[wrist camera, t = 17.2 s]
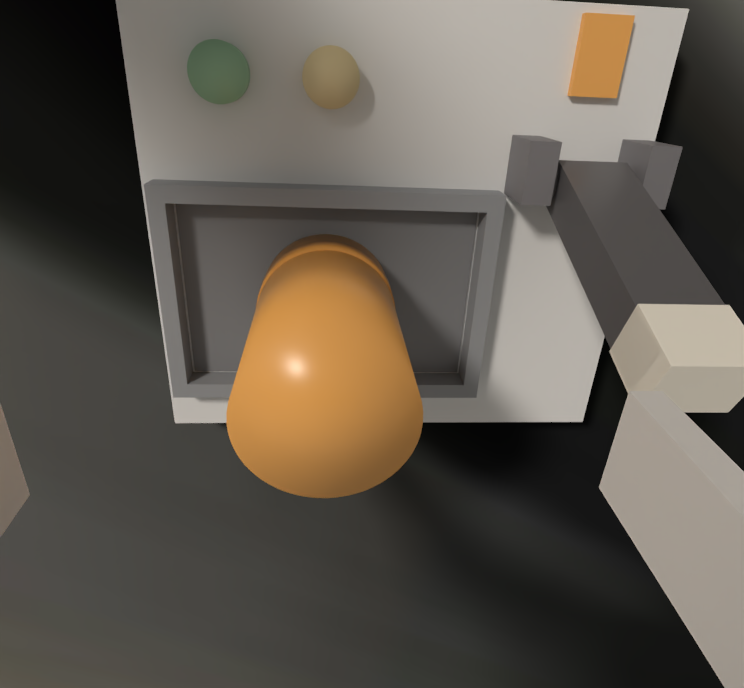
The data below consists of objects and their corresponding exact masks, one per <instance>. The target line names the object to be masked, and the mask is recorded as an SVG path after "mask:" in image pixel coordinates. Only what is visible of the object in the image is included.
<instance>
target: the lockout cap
mask: <svg viewBox="0 0 744 688" xmlns="http://www.w3.org/2000/svg"><path fill="white" fill-rule="evenodd" d="M226 418H227V429H228V435H229V438H230V441H231V444H232V446H233V448H234V450H235V452H236V454H237V455H238V457H239V458H240V459H241V461H242V462H243V463H244V464H245V466H246V467H247V468H248V469H249V470H250V471H251V472H252V473H254V474H255V475H256V476H257V477H259V478H260V479H261V480H263V481H265V482H266V483H268V484H269V485H271V486H273V487H276V488H278V489H280V490H283V491H285V492H288V493H291V494H295V495H299V496H305V497H312V498H334V497H342V496H348V495H352V494H356V493H359V492H362V491H365V490H367V489H370V488H372V487H374V486H376V485H378V484H380V483H382V482H383V481H385V480H386V479H388V478H389V477H391V476H392V475H393V474H394V473H395V472H396V471H398V470H399V469H400V468H401V467H402V466H403V464H404V463H405V462H406V461H407V460H408V458H409V457H410V456H411V454H412V453H413V451H414V449H415V447H416V445H417V443H418V440H419V437H420V435H421V431H422V425H423V406H422V400H421V397H420V393H419V390H418V386H417V383H416V379H415V376H414V372H413V369H412V365H411V362H410V359H409V355H408V352H407V348H406V345H405V341H404V338H403V334H402V331H401V327H400V324H399V320H398V317H397V313H396V310H395V302H394V298H393V295H392V291H391V288H390V284H389V281H388V279H387V277H386V275H385V273H384V270H383V268H382V266H381V265H380V263H379V261H378V260H377V259H376V257H375V256H374V255H373V254H372V253H371V252H370V251H369V250H368V249H367V248H365V247H364V246H362V245H361V244H360V243H358V242H356V241H354V240H352V239H349V238H346V237H343V236H339V235H332V234H318V235H312V236H308V237H304V238H301V239H299V240H297V241H295V242H293V243H291V244H290V245H288V246H287V247H286V248H284V249H283V250H282V251H281V252H280V253H279V254H278V255H277V256H276V257H275V259H274V260H273V262H272V263H271V265H270V267H269V269H268V271H267V273H266V275H265V277H264V279H263V282H262V285H261V288H260V292H259V295H258V298H257V304H256V310H255V313H254V317H253V320H252V323H251V327H250V330H249V334H248V337H247V340H246V344H245V347H244V350H243V354H242V357H241V360H240V364H239V367H238V370H237V374H236V377H235V380H234V384H233V387H232V391H231V394H230V397H229V401H228V406H227V412H226Z"/></svg>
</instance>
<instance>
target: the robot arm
mask: <svg viewBox="0 0 744 688" xmlns="http://www.w3.org/2000/svg"><path fill="white" fill-rule="evenodd" d="M599 488H600V490H601V492H602V493H603V495H604V496H605V498H606V500H607V501H608V503H609V504H610V506H611V508H612V509H613V511H614V512H615V514H616V516H617V517H618V519H619V520H620V522H621V523H622V525H623V527H624V528H625V530H626V531H627V533H628V535H629V536H630V538H631V539H632V541H633V543H634V544H635V546H636V547H637V549H638V551H639V552H640V554H641V555H642V557H643V559H644V560H645V562H646V563H647V565H648V566H649V568H650V570H651V571H652V573H653V574H654V576H655V578H656V579H657V581H658V582H659V584H660V586H661V587H662V589H663V590H664V592H665V594H666V595H667V597H668V598H669V600H670V601H671V603H672V605H673V606H674V608H675V609H676V611H677V613H678V614H679V616H680V617H681V619H682V621H683V622H684V624H685V625H686V627H687V629H688V630H689V632H690V633H691V635H692V636H693V638H694V640H695V641H696V643H697V644H698V646H699V648H700V649H701V651H702V652H703V654H704V656H705V657H706V659H707V660H708V662H709V664H710V665H711V667H712V668H713V670H714V672H715V673H716V675H717V676H718V678H719V679H720V681H721V683H722V684H723V686H724V687H725V688H744V472H743V471H742V470H741V469H740V468H739V467H738V466H737V465H736V464H735V463H734V462H733V461H732V460H731V459H730V458H729V457H728V456H727V455H726V454H725V453H724V452H723V451H722V450H721V449H720V448H719V447H718V446H717V445H716V444H715V443H714V442H713V441H712V440H711V439H710V438H709V437H708V436H707V435H706V434H705V433H704V432H703V431H702V430H701V429H700V428H699V427H698V426H697V425H696V424H695V423H694V422H693V421H692V420H691V419H690V418H689V417H688V416H687V415H686V414H685V413H684V412H683V411H682V410H681V409H680V408H679V407H678V406H677V405H676V404H675V403H674V402H673V401H672V400H671V399H670V398H669V397H668V396H667V395H666V394H665V393H664V392H663V391H629V393H628V396H627V399H626V403H625V406H624V409H623V412H622V415H621V419H620V422H619V425H618V428H617V431H616V435H615V438H614V441H613V444H612V447H611V451H610V454H609V457H608V460H607V463H606V467H605V470H604V473H603V476H602V479H601V483H600V486H599ZM29 495H30V493H29V490H28V487H27V484H26V481H25V478H24V475H23V472H22V469H21V466H20V463H19V460H18V456H17V453H16V450H15V447H14V444H13V441H12V438H11V435H10V432H9V429H8V426H7V423H6V419H5V416H4V413H3V410H2V407H1V404H0V537H1V536H2V534H3V533H4V531H5V530H6V528H7V527H8V526H9V524H10V523H11V521H12V520H13V518H14V517H15V516H16V514H17V513H18V511H19V510H20V508H21V507H22V505H23V504H24V503H25V501H26V500H27V498H28V497H29Z"/></svg>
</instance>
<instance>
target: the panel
mask: <svg viewBox="0 0 744 688" xmlns="http://www.w3.org/2000/svg"><path fill="white" fill-rule="evenodd" d="M116 6H117V13H118V21H119V28H120V35H121V42H122V49H123V56H124V63H125V70H126V78H127V85H128V92H129V99H130V106H131V113H132V120H133V127H134V134H135V142H136V149H137V156H138V163H139V170H140V177H141V184H142V191H143V199H144V206H145V213H146V220H147V227H148V234H149V241H150V248H151V255H152V263H153V270H154V277H155V284H156V291H157V298H158V305H159V312H160V320H161V327H162V334H163V341H164V348H165V355H166V362H167V369H168V376H169V384H170V391H171V398H172V405H173V412H174V419H175V423H227V418H226V412H227V406H228V401H229V397H230V394H231V391H232V387H233V384H234V380H235V377H236V374H237V370H238V367H239V364H240V360H241V357H242V354H243V350H244V347H245V344H246V340H247V337H248V334H249V330H250V327H251V323H252V320H253V317H254V313H255V310H256V304H257V298H258V295H259V292H260V288H261V285H262V282H263V279H264V277H265V275H266V273H267V271H268V269H269V267H270V265H271V263H272V262H273V260H274V259H275V257H276V256H277V255H278V254H279V253H280V252H281V251H282V250H283V249H284V248H286V247H287V246H288V245H290V244H291V243H293V242H295V241H297V240H299V239H301V238H304V237H308V236H312V235H318V234H332V235H339V236H343V237H346V238H349V239H352V240H354V241H356V242H358V243H360V244H361V245H362V246H364V247H365V248H367V249H368V250H369V251H370V252H371V253H372V254H373V255H374V256H375V257H376V259H377V260H378V261H379V263H380V265H381V266H382V268H383V270H384V273H385V275H386V277H387V279H388V281H389V284H390V288H391V291H392V295H393V298H394V302H395V310H396V313H397V317H398V320H399V324H400V327H401V331H402V334H403V338H404V341H405V345H406V348H407V352H408V355H409V359H410V362H411V365H412V369H413V372H414V376H415V379H416V383H417V386H418V390H419V393H420V397H421V400H422V406H423V422H583V418H584V415H585V411H586V407H587V403H588V399H589V395H590V391H591V387H592V384H593V380H594V376H595V372H596V368H597V364H598V360H599V356H600V353H601V349H602V345H603V341H604V337H605V335H604V333H603V331H602V329H601V327H600V324H599V322H598V320H597V318H596V315H595V313H594V311H593V309H592V307H591V304H590V302H589V300H588V298H587V296H586V293H585V291H584V289H583V287H582V284H581V282H580V280H579V278H578V276H577V273H576V271H575V269H574V267H573V265H572V262H571V260H570V258H569V256H568V253H567V251H566V249H565V247H564V245H563V242H562V240H561V238H560V236H559V234H558V231H557V229H556V227H555V225H554V222H553V220H552V218H551V216H550V214H549V211H548V209H547V207H546V206H550V205H551V200H552V194H553V189H554V184H555V178H556V173H557V168H558V162H559V160H571V161H598V162H624V163H628V165H629V166H630V167H631V169H632V170H633V172H634V173H635V175H636V176H637V178H638V179H639V181H640V182H641V183H642V185H643V186H644V188H645V189H646V191H647V192H648V194H649V195H650V197H651V198H652V199H653V201H654V202H655V204H656V205H657V207H658V208H659V209H665V208H666V204H667V201H668V197H669V194H670V190H671V186H672V183H673V179H674V176H675V172H676V169H677V165H678V162H679V158H680V154H681V151H682V147H680V146H675V145H670V144H665V143H660V142H655V139H656V136H657V132H658V128H659V124H660V120H661V116H662V112H663V108H664V105H665V101H666V97H667V93H668V89H669V85H670V81H671V77H672V74H673V70H674V66H675V62H676V58H677V54H678V50H679V46H680V43H681V39H682V35H683V31H684V27H685V23H686V19H687V15H688V12H689V9H682V8H666V7H650V6H633V5H617V4H601V3H585V2H569V1H552V0H116Z"/></svg>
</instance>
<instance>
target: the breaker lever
mask: <svg viewBox="0 0 744 688" xmlns="http://www.w3.org/2000/svg"><path fill="white" fill-rule="evenodd" d="M546 207H547V209H548V211H549V214H550V216H551V218H552V220H553V222H554V225H555V227H556V229H557V231H558V234H559V236H560V238H561V240H562V242H563V245H564V247H565V249H566V251H567V253H568V256H569V258H570V260H571V262H572V265H573V267H574V269H575V271H576V273H577V276H578V278H579V280H580V282H581V284H582V287H583V289H584V291H585V293H586V296H587V298H588V300H589V302H590V304H591V307H592V309H593V311H594V313H595V315H596V318H597V320H598V322H599V324H600V327H601V329H602V331H603V333H604V335H605V338H606V340H607V342H608V344H609V346H610V351H609V352H610V354H611V357H612V359H613V361H614V363H615V365H616V368H617V370H618V372H619V374H620V377H621V379H622V381H623V383H624V386H625V388H626V390H627V392H628V393H629V391H663V392H664V393H665V394H666V395H667V396H668V397H669V398H670V399H671V400H672V401H673V402H674V403H675V404H676V405H677V406H678V407H679V408H680V409H681V410H682V411H683V412H729V411H730V410H731V409H732V408H733V407H734V406H735V405H736V404H737V403H738V402H739V401H740V400H741V399H742V398H743V397H744V325H743V324H742V323H741V321H740V320H739V318H738V317H737V315H736V314H735V312H734V311H733V310H732V308H731V307H730V305H725V304H724V303H723V301H722V300H721V298H720V297H719V295H718V294H717V292H716V291H715V290H714V288H713V287H712V285H711V284H710V282H709V281H708V279H707V278H706V276H705V275H704V274H703V272H702V271H701V269H700V268H699V266H698V265H697V263H696V262H695V260H694V259H693V258H692V256H691V255H690V253H689V252H688V250H687V249H686V247H685V246H684V244H683V243H682V242H681V240H680V239H679V237H678V236H677V234H676V233H675V231H674V230H673V228H672V227H671V226H670V224H669V223H668V221H667V220H666V218H665V217H664V215H663V214H662V212H661V211H660V210H659V208H658V207H657V205H656V204H655V202H654V201H653V199H652V198H651V197H650V195H649V194H648V192H647V191H646V189H645V188H644V186H643V185H642V183H641V182H640V181H639V179H638V178H637V176H636V175H635V173H634V172H633V170H632V169H631V167H630V166H629V165H628V163H624V162H598V161H571V160H559V162H558V168H557V173H556V178H555V184H554V189H553V194H552V200H551V205H550V206H546Z"/></svg>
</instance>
